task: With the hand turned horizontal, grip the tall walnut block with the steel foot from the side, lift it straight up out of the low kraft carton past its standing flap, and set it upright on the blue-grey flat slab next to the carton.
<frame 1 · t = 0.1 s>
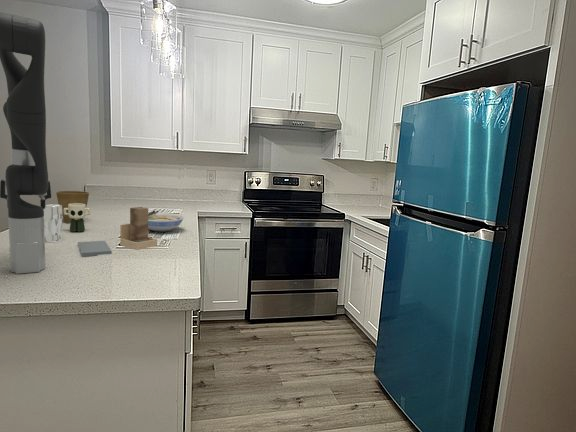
hand: (27, 210, 129), 17 cm above the worktop, tool pointing down, fingers open, 8 cm apart
walnut block: (138, 245, 158), resting on carton
plant pot: (73, 222, 198), on the worktop
carton: (138, 246, 158), on the worktop
ramen bowl: (161, 231, 192), on the worktop
beer glass: (53, 241, 158), on the worktop
character mug: (77, 231, 177), on the worktop
blue-grey flat slab: (94, 250, 148), on the worktop
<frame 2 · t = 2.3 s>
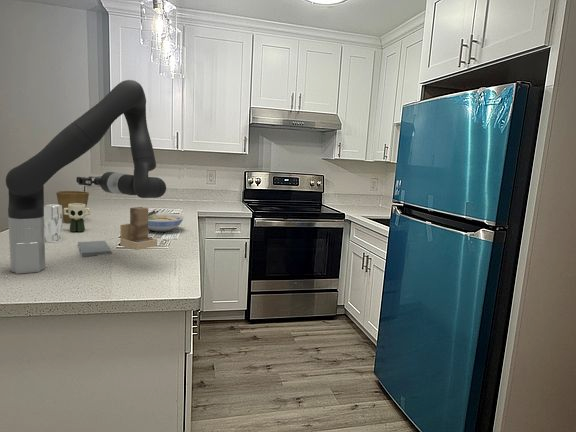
hand: (88, 179, 140), 28 cm above the worktop, tool horizontal, fingers open, 8 cm apart
nothing on the worktop moved.
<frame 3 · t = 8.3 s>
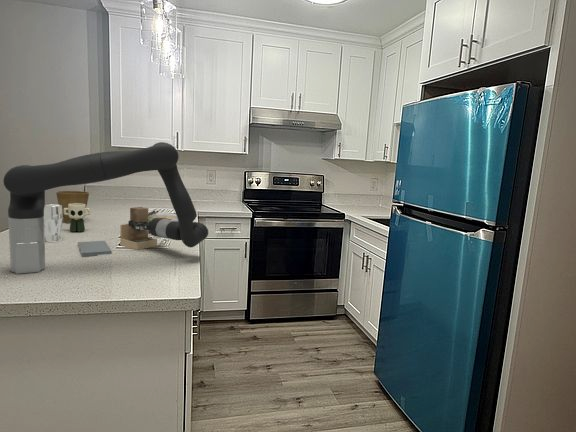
hand: (134, 222, 157), 10 cm above the worktop, tool horizontal, fingers closed on walnut block, 5 cm apart
walnut block: (138, 245, 158), resting on carton, touching gripper
everything else where it was.
when the fingers open (13 cm above the worktop, at t = 13.9 s): walnut block drops 2 cm, resting on blue-grey flat slab.
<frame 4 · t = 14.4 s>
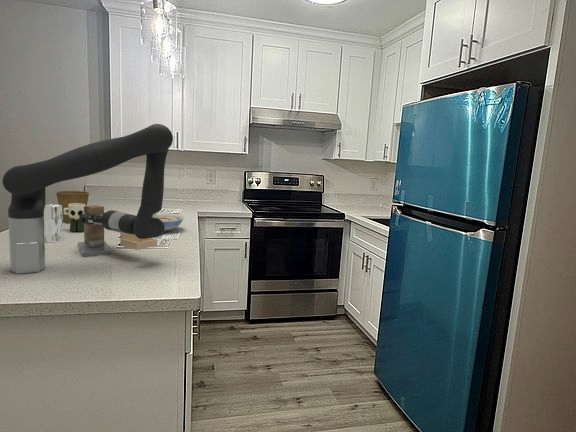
hand: (90, 215, 146), 14 cm above the worktop, tool horizontal, fingers open, 8 cm apart
walnut block: (94, 246, 147), point 1 cm above the worktop, touching blue-grey flat slab
everything else where it was.
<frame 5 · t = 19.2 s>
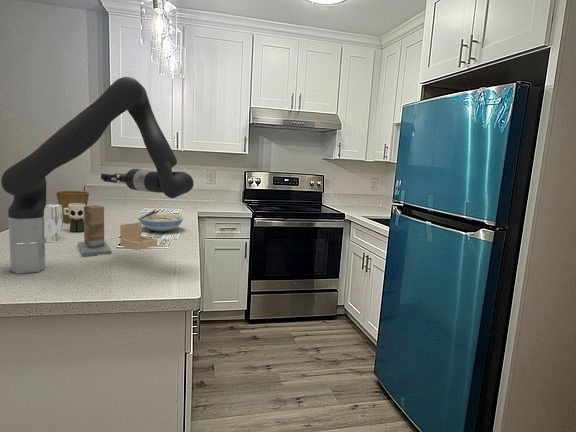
hand: (112, 176, 138), 30 cm above the worktop, tool horizontal, fingers open, 8 cm apart
nothing on the worktop moved.
at the end: walnut block inside the target area on the blue-grey flat slab (0.1 cm from its centre), point 1.5 cm above the blue-grey flat slab's base; walnut block tilted 0°; the gripper is holding nothing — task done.
